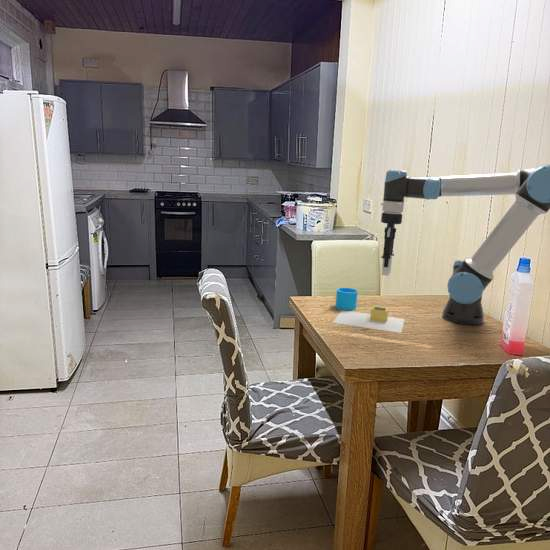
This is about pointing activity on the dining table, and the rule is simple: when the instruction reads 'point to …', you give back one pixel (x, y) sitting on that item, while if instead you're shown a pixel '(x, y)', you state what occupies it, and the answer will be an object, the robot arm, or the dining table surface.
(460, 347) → the dining table surface
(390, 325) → the drywall panel
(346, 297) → the mug
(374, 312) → the block
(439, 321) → the dining table surface
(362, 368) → the dining table surface
